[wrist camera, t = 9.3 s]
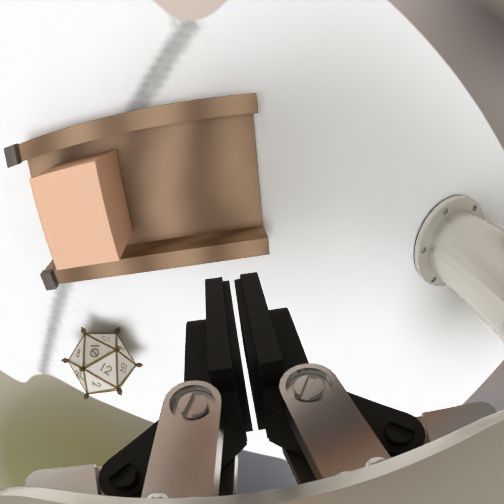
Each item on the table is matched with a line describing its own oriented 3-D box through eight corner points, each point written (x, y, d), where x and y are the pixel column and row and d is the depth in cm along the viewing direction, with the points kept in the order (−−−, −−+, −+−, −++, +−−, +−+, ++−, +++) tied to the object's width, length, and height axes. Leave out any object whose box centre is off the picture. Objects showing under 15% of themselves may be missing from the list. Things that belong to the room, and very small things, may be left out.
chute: (249, 93, 26) (257, 91, 22) (262, 237, 33) (271, 259, 28) (28, 140, 24) (3, 148, 20) (62, 266, 31) (46, 290, 27)
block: (116, 148, 26) (94, 161, 20) (133, 231, 29) (119, 260, 24) (59, 163, 25) (29, 179, 20) (78, 240, 29) (56, 270, 23)
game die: (112, 333, 40) (82, 396, 34) (76, 300, 34) (38, 371, 28) (164, 352, 37) (132, 424, 31) (129, 318, 30) (87, 404, 25)
